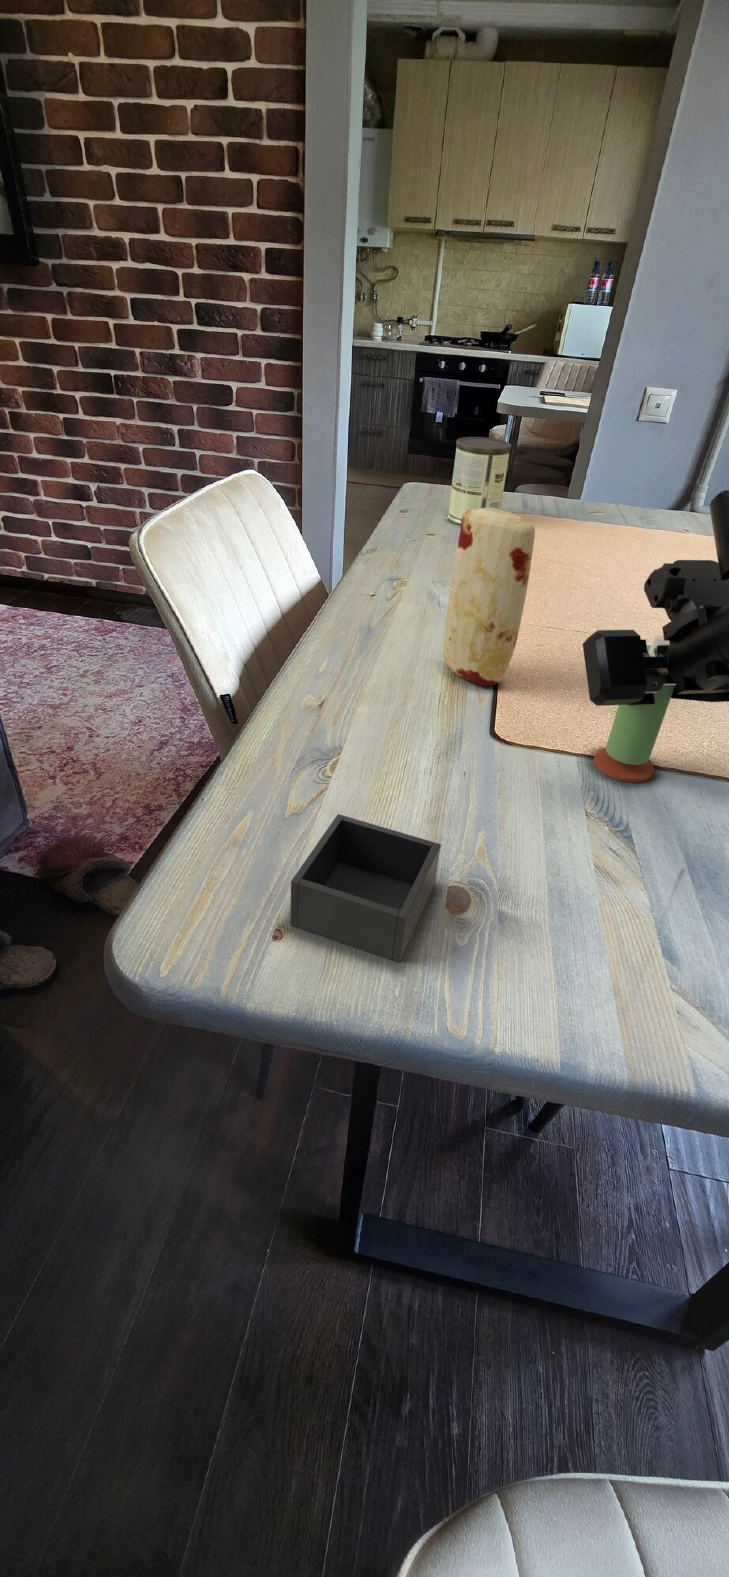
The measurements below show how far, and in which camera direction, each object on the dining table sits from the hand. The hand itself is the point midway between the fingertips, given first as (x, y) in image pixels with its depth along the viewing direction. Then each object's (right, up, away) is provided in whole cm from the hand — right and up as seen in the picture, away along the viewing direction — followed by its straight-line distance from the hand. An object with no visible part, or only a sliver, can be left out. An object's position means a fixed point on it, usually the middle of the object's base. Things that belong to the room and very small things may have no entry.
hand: (638, 692), depth 73 cm
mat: (0, -7, +4) cm, 8 cm away
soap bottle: (0, -6, +3) cm, 6 cm away
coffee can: (-6, +44, +73) cm, 86 cm away
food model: (-14, +4, +18) cm, 23 cm away
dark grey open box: (-27, -19, -15) cm, 36 cm away
